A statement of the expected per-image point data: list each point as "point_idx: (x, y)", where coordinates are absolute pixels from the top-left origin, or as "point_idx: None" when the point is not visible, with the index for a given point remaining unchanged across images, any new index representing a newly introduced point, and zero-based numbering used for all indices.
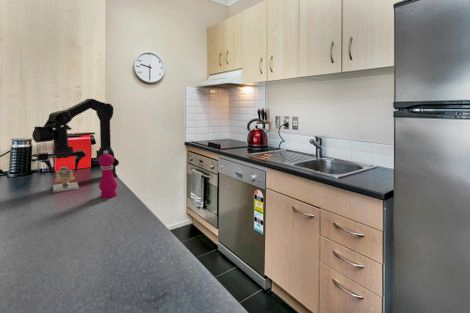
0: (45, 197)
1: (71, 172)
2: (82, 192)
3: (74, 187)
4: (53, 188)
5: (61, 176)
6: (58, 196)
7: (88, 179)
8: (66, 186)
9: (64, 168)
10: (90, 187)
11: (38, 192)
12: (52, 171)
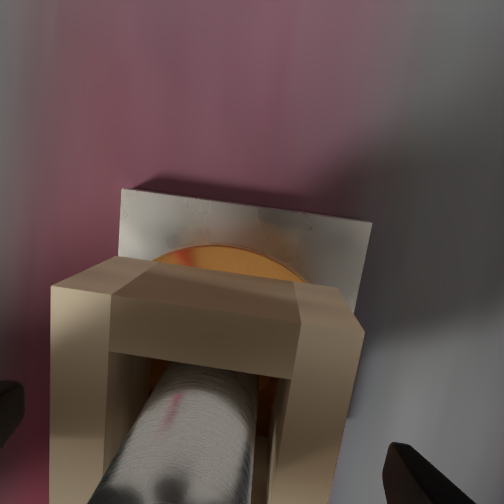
0: (474, 63)
1: (76, 312)
2: (115, 10)
3: (162, 195)
4: (354, 298)
5: (271, 296)
6: (356, 9)
7: (14, 490)
8: None
9: (160, 459)
10: (21, 174)
11: (480, 318)
12: (424, 484)
